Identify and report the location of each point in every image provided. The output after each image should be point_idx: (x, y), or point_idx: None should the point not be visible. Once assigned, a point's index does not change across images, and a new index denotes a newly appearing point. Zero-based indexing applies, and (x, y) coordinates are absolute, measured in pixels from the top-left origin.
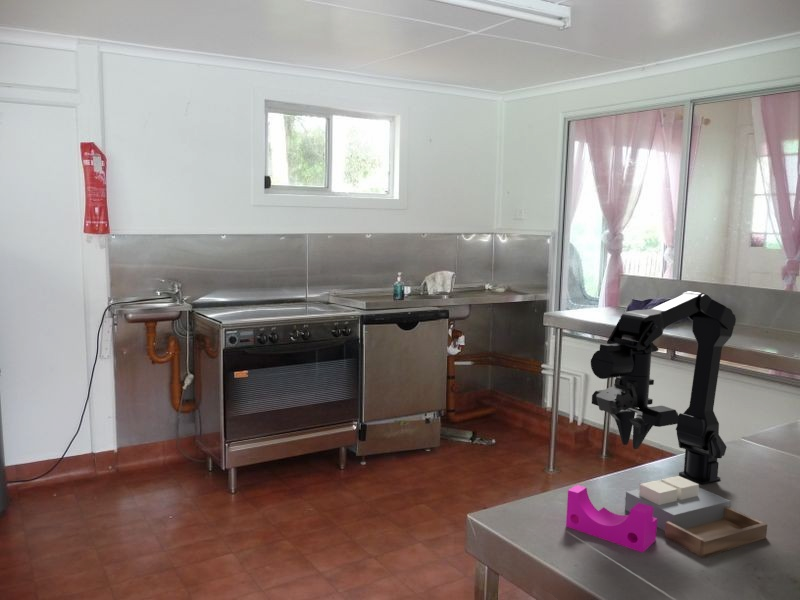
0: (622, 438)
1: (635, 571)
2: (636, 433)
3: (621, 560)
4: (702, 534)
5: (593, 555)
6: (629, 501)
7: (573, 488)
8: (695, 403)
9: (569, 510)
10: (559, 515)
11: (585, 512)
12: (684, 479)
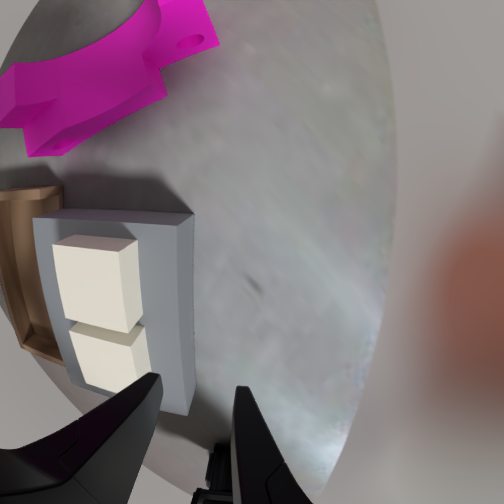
0: (241, 411)
1: (35, 50)
2: (66, 430)
3: (59, 43)
4: None
5: (94, 7)
6: (169, 219)
7: None
8: None
9: None
10: (263, 31)
11: (140, 6)
12: (117, 389)
